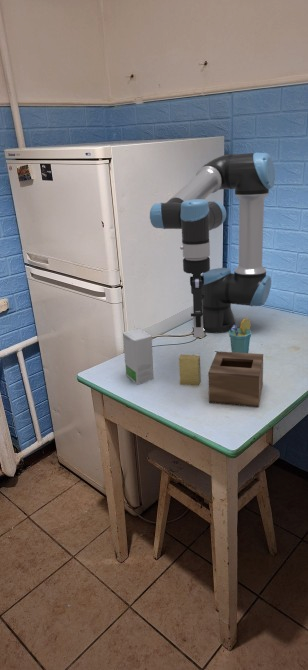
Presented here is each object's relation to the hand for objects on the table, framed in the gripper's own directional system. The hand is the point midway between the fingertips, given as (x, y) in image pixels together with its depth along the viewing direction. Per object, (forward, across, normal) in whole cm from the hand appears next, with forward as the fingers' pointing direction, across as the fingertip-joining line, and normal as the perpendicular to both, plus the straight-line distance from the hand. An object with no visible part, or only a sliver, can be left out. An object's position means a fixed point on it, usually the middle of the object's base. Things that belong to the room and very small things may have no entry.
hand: (198, 328), depth 139 cm
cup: (+19, -15, +13) cm, 28 cm away
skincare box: (+19, -6, -20) cm, 28 cm away
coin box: (+19, +6, +11) cm, 23 cm away
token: (+19, -1, -3) cm, 19 cm away
